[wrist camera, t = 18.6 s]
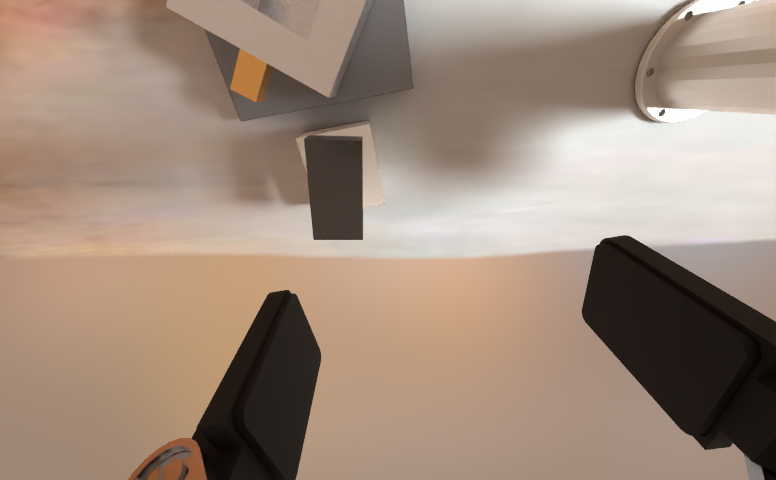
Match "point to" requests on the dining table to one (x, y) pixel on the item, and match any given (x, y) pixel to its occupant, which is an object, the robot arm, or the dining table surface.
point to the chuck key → (335, 186)
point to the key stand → (370, 166)
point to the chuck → (283, 38)
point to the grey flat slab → (361, 79)
